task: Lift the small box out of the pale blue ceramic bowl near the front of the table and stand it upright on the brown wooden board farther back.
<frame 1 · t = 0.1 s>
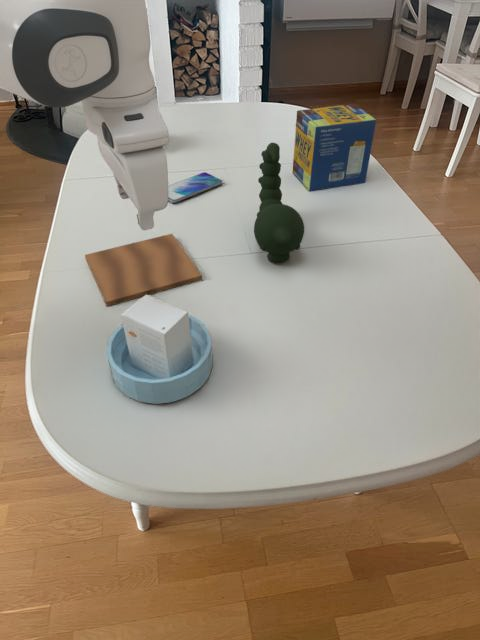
hand: (135, 211, 73), 22 cm above the table, tool pointing down, fingers open, 8 cm apart
bowl: (162, 367, 80), on the table
toy figurine: (274, 244, 106), on the table
protein box: (328, 178, 128), on the table
small box: (162, 365, 80), resting on bowl
smartphone: (190, 189, 123), on the table
mushroom: (137, 147, 142), on the table
brown wooden board: (142, 269, 99), on the table
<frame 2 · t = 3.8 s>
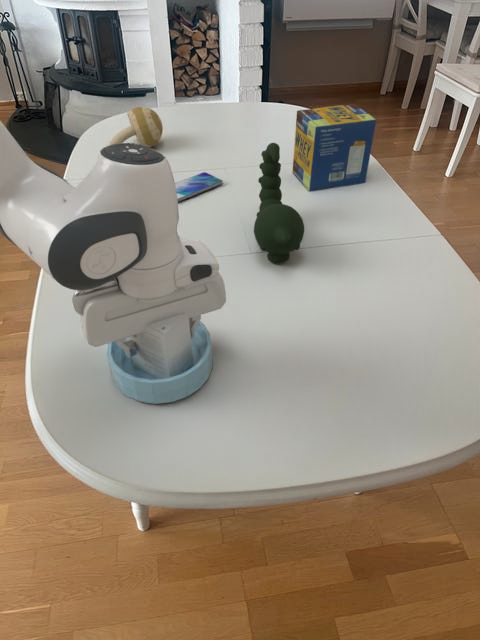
hand: (160, 344, 77), 5 cm above the table, tool pointing down, fingers closed on small box, 7 cm apart
small box: (162, 365, 80), resting on bowl, touching gripper
everything else where it was.
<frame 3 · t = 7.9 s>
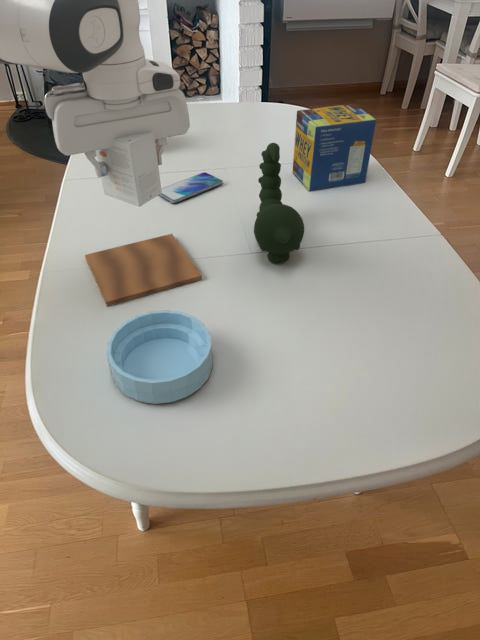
hand: (129, 169, 83), 22 cm above the table, tool pointing down, fingers closed on small box, 7 cm apart
small box: (133, 195, 86), point 17 cm above the table, touching gripper
everything else where it was.
when the fingers open (5 cm above the table, at t = 12.2 s): small box stays where it is, resting on brown wooden board.
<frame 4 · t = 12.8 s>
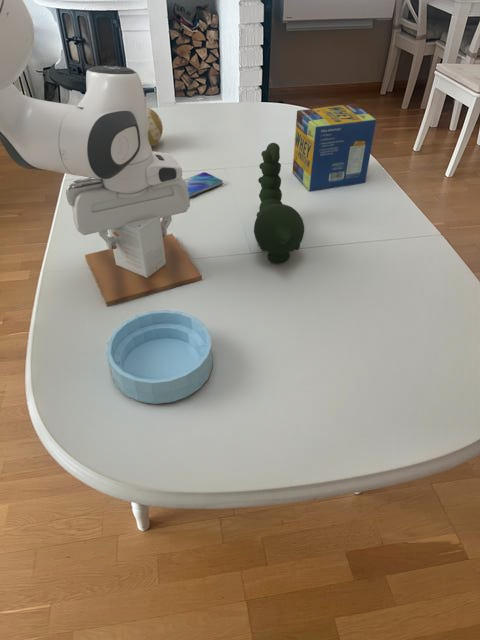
hand: (137, 241, 95), 6 cm above the table, tool pointing down, fingers open, 8 cm apart
small box: (141, 265, 99), point 1 cm above the table, touching brown wooden board
everything else where it was.
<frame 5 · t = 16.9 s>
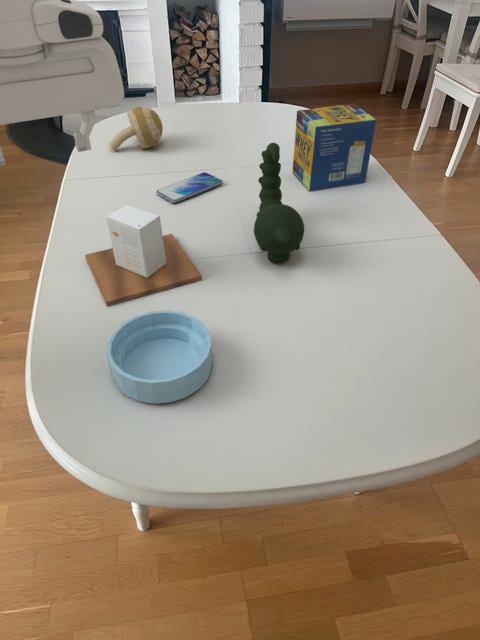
hand: (42, 156, 59), 33 cm above the table, tool pointing down, fingers open, 8 cm apart
nothing on the table moved.
at the end: small box inside the target area on the brown wooden board (0.2 cm from its centre), point 0.8 cm above the brown wooden board's base; small box tilted 0° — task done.
